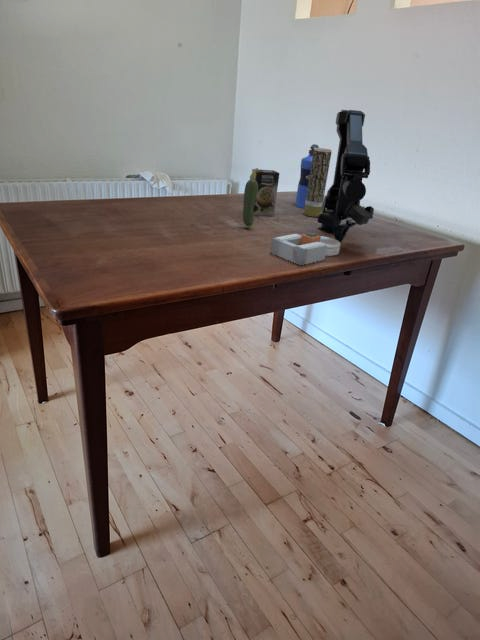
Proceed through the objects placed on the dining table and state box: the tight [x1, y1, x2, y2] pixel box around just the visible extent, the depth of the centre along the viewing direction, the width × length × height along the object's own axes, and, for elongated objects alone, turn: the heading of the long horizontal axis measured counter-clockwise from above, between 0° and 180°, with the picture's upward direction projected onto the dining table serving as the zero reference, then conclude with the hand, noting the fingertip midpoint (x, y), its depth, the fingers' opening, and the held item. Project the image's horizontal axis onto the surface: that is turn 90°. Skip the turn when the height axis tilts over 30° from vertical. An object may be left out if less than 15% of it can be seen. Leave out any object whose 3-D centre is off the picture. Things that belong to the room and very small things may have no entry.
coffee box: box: [251, 168, 280, 217], centre depth 172 cm, size 9×6×16 cm
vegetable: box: [242, 167, 260, 229], centre depth 151 cm, size 4×4×20 cm
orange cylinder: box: [300, 231, 321, 245], centre depth 135 cm, size 4×4×6 cm
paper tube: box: [303, 147, 332, 218], centre depth 176 cm, size 7×7×25 cm
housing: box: [270, 233, 327, 266], centre depth 132 cm, size 12×10×5 cm
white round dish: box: [320, 235, 342, 257], centre depth 140 cm, size 10×10×4 cm
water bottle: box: [294, 143, 320, 209], centre depth 190 cm, size 9×9×25 cm
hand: (338, 243), depth 145 cm, fingers closed
